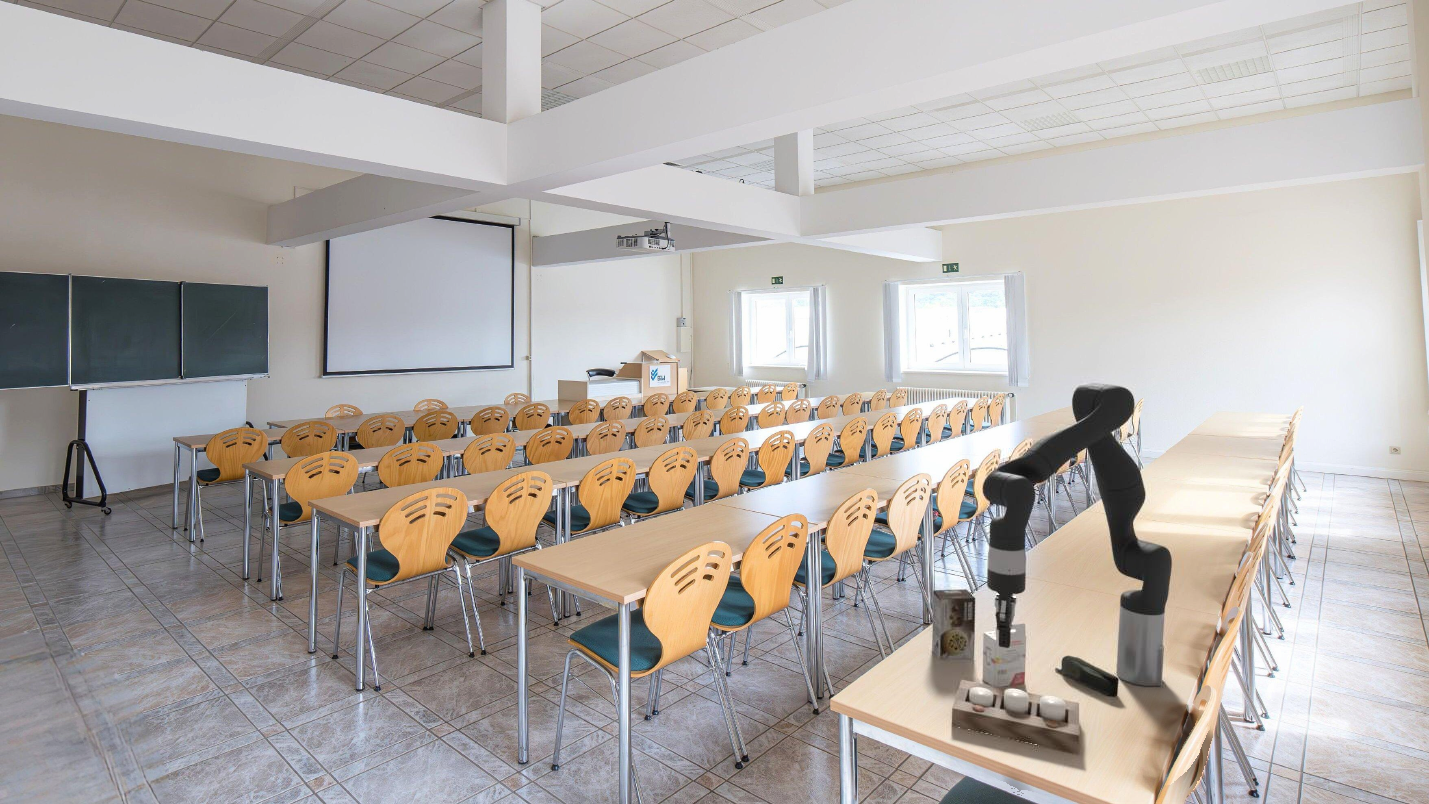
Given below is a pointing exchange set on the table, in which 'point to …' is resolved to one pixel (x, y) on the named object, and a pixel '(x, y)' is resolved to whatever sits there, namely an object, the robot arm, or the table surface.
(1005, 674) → the ink cartridge box
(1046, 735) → the button board
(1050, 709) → the button inner
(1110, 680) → the dark green stapler
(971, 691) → the button outer
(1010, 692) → the button middle
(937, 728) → the table surface
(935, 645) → the coffee box
